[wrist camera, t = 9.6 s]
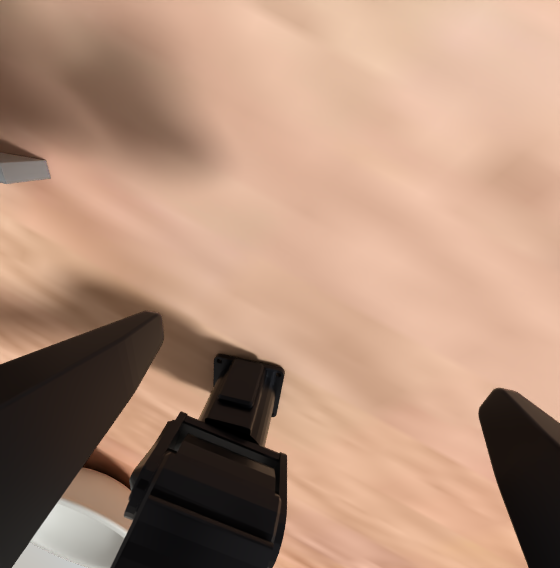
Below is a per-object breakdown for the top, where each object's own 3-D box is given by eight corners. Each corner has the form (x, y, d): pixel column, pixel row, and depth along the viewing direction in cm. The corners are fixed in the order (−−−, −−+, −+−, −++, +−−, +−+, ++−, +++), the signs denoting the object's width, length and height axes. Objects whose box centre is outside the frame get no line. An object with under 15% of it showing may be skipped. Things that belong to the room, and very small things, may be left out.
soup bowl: (3, 446, 42) (-49, 494, 36) (103, 423, 34) (56, 480, 28) (106, 523, 50) (77, 572, 44) (205, 520, 42) (186, 580, 36)
